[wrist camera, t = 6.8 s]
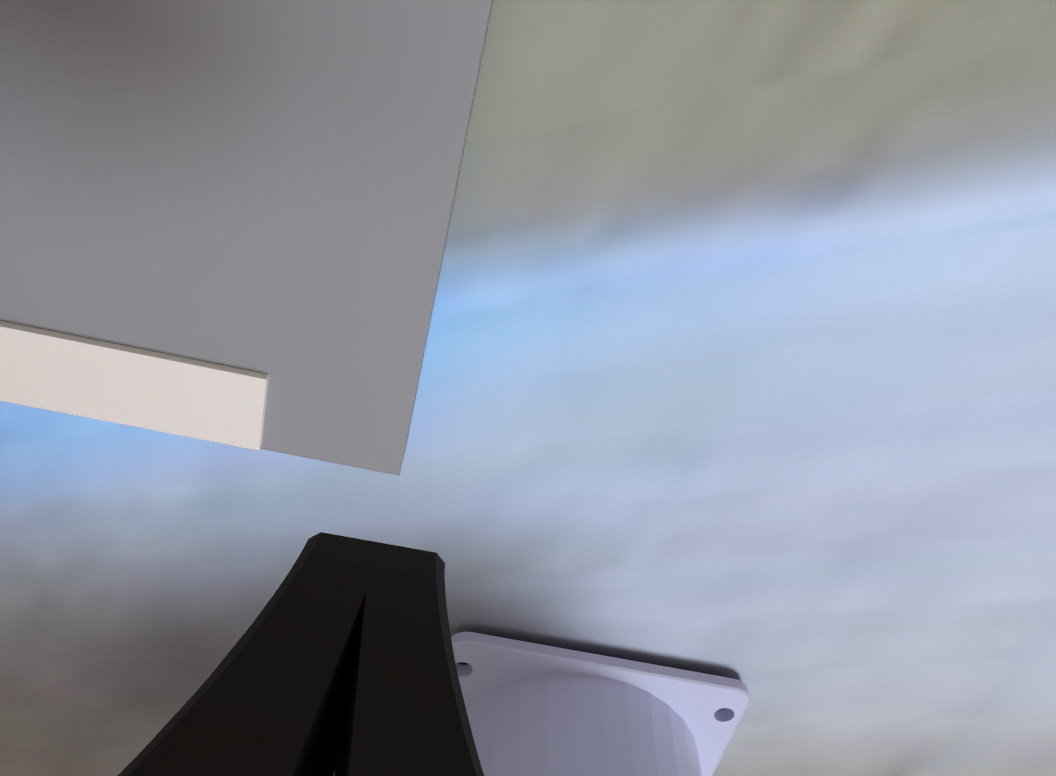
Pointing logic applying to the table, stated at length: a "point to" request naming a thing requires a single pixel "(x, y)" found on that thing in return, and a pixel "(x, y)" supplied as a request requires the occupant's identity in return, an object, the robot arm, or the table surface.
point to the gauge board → (230, 212)
